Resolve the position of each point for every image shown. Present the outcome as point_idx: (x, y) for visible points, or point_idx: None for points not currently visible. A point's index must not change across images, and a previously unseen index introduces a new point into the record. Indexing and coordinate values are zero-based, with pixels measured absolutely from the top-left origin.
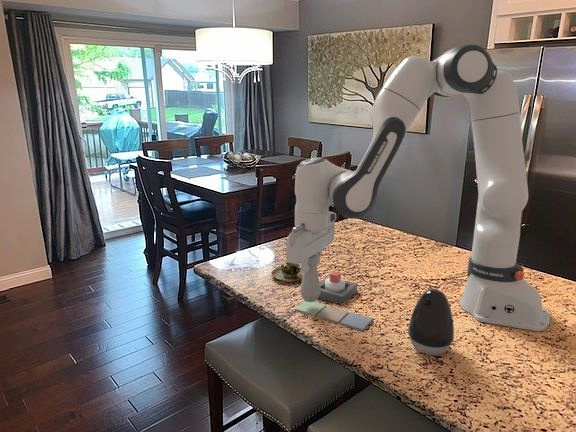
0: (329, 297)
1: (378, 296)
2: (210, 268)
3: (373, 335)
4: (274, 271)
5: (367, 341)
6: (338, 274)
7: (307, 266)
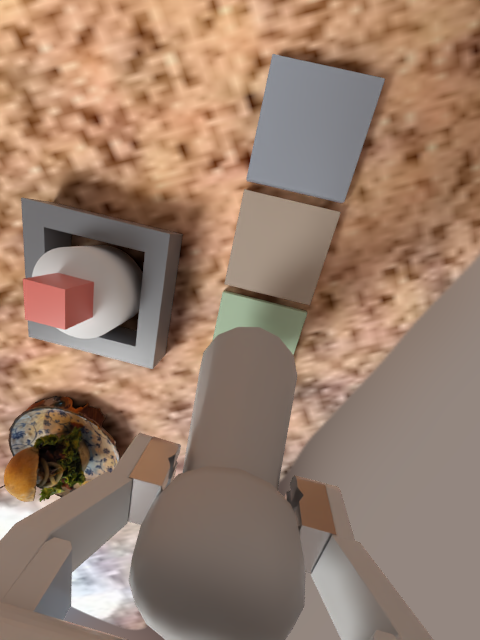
0: (169, 292)
1: (46, 89)
2: (132, 611)
3: (408, 18)
4: None
5: (468, 36)
6: (45, 286)
7: (359, 545)
